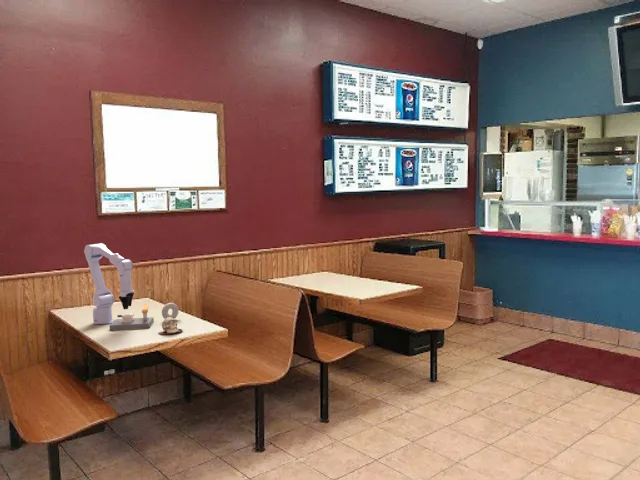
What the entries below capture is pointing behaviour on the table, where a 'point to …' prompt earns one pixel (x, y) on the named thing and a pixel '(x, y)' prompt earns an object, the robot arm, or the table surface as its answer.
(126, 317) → the plug
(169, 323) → the skull
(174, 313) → the donut
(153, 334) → the table surface
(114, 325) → the socket block
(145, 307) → the orange paddle handle
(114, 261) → the robot arm
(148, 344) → the table surface
